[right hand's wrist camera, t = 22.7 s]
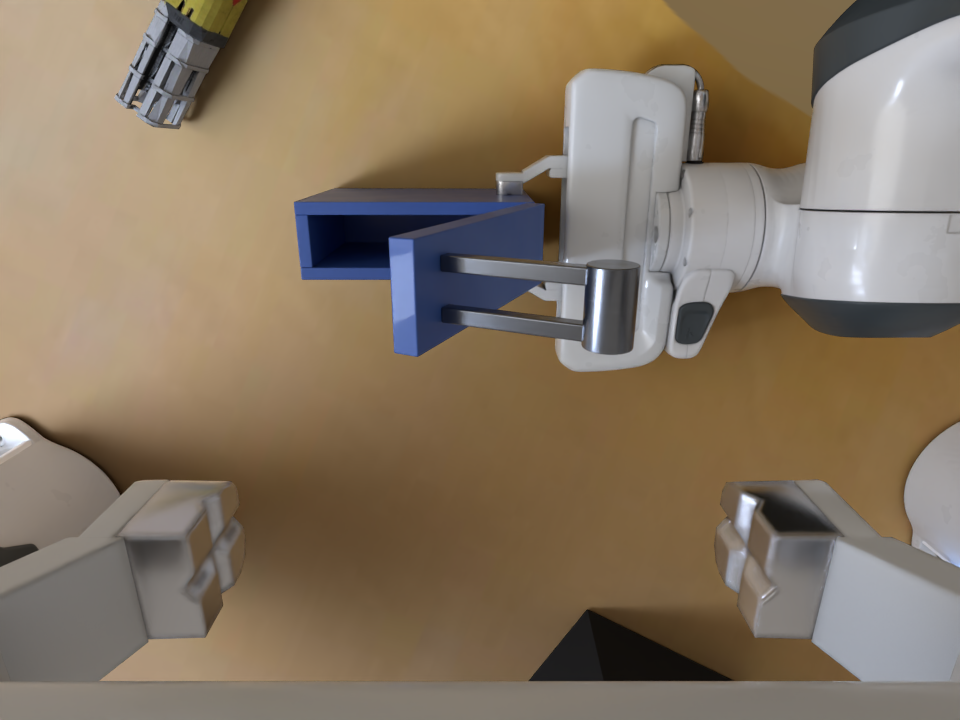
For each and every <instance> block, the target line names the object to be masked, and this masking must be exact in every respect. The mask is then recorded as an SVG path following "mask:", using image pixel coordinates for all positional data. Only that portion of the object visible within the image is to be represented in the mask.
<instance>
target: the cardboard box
mask: <svg viewBox="0 0 960 720" xmlns="http://www.w3.org/2000/svg"><path fill="white" fill-rule="evenodd" d="M529 681H733V680H731V679H729V678H727V677H724V676H722V675H720V674H718V673H716V672H714V671H712V670H710V669H708V668H706V667H704V666H702V665H700V664H698V663H696V662H694V661H692V660H690V659H688V658H686V657H684V656H682V655H679V654H677V653H675V652H673V651H671V650H669V649H667V648H665V647H663V646H661V645H659V644H657V643H655V642H653V641H651V640H649V639H647V638H645V637H643V636H641V635H639V634H637V633H634V632H632V631H630V630H628V629H626V628H624V627H622V626H620V625H618V624H616V623H614V622H612V621H610V620H608V619H606V618H604V617H602V616H600V615H598V614H596V613H594V612H592V611H589V610H586V612H585V613H584V614H583V615H582V616H581V618H580V619H579V620H578V621H577V623H576V624H575V625H574V626H573V627H572V629H571V630H570V631H569V632H568V634H567V635H566V636H565V637H564V638H563V640H562V641H561V642H560V643H559V645H558V646H557V647H556V648H555V649H554V651H553V652H552V653H551V654H550V656H549V657H548V658H547V659H546V660H545V662H544V663H543V664H542V665H541V667H540V668H539V669H538V670H537V671H536V673H535V674H534V675H533V676H532V678H531V679H530V680H529Z"/></svg>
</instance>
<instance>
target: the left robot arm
mask: <svg viewBox="0 0 960 720" xmlns="http://www.w3.org/2000/svg"><path fill="white" fill-rule="evenodd" d="M695 81H696V84H697V90H694V84H695ZM811 104H812V108H813V112H812V120H811V127H810V135H809V142H808V150H807V157H806V163H802V164H798V165H795V166H791V167H787V168H778V169H774V168H768V167H765V166H762V165H759V164H755V163H704V162H702V158H703V149H704V141H705V133H704V132H705V129H704V128H705V118H706V112H707V111H708V106H709V91H708V90H704V84H703V80H702V77H701V76H700V74H699V73H698V71H697V70H695V69H694V68H693V67H691V66H689V65H685V64H661V65H657V66H654V67H652V68H651V69H649V70H648V71H647V72H646V73H645V74H642V73H636V72H630V71H622V70H612V69H584V70H581V71H580V72H578V73H577V74H576V75H575V76H574V77H573V78H572V79H571V80H570V81H569V82H568V83H567V85H566V90H565V113H564V137H563V155H546V156H544V157H543V158H541V159H539V160H538V161H536V162H534V163H533V164H531V165H529V166H528V167H526V168H524V169H523V170H522V172H496V195H508V194H509V193H510V194H511V195H523V183H525V182H527V181H529V180H530V179H532V178H534V177H536V176H537V175H539V174H541V173H542V172H544V171H546V175H547V176H549V177H550V178H562V186H561V211H560V235H559V260H558V262H564V263H576V264H587V263H588V262H590V261H593V260H603V259H614V260H626V261H631V262H635V263H638V264H640V266H641V271H640V281H639V292H638V303H637V314H636V324H635V335H634V346H633V350H632V351H630V352H628V353H625V354H619V355H604V354H597V353H593V352H590V351H587V350H585V349H584V348H583V347H582V345H581V342H579V341H572V340H564V339H557V338H555V350H556V353H557V356H558V359H559V361H560V362H561V363H562V364H563V365H564V366H566V367H567V368H569V369H570V370H572V371H577V372H594V371H610V370H619V369H627V368H634V367H639V366H642V365H645V364H648V363H650V362H652V361H653V360H655V359H656V358H657V357H658V356H659V355H660V354H661V353H662V351H663V350H665V351H666V352H667V353H668V354H670V355H671V356H673V357H675V358H681V359H687V358H692V357H694V356H696V355H697V354H698V353H699V351H700V349H701V348H702V346H703V343H704V341H705V339H706V337H707V335H708V333H709V330H710V328H711V326H712V324H713V322H714V320H715V318H716V316H717V314H718V312H719V310H720V308H721V306H722V304H723V302H724V300H725V299H726V297H727V295H728V293H729V292H741V291H745V290H749V289H752V288H757V287H766V286H767V287H776V288H780V289H781V292H782V294H781V296H782V297H783V299H784V300H785V301H786V303H787V304H788V305H789V306H790V307H791V308H792V309H793V310H794V311H795V312H796V313H797V314H798V315H799V316H800V317H802V318H803V319H804V320H805V321H806V322H807V323H808V324H809V325H810V326H811V327H812V328H813V329H815V330H817V331H819V332H822V333H825V334H829V335H833V336H840V337H860V338H895V337H932V336H934V335H937V334H939V333H941V332H944V331H946V330H948V329H950V328H952V327H954V326H956V325H958V324H960V0H857V1H855V2H854V3H853V4H852V5H851V6H850V7H849V8H848V9H847V10H846V11H845V12H844V13H843V14H842V15H841V16H840V17H839V18H838V19H837V20H836V21H835V23H834V24H833V25H832V26H831V27H830V28H829V29H828V30H827V32H826V33H825V34H824V35H823V37H822V38H821V39H820V40H819V42H818V43H817V44H816V46H815V48H814V59H813V78H812V98H811ZM682 161H687V162H685V163H682ZM529 292H530V293H532V294H534V295H535V296H537V297H539V298H541V299H542V300H544V301H557V309H556V317H559V318H567V319H576V320H583V309H584V293H585V286H581V285H571V284H561V283H551V282H543V283H540V284H539V285H537V286H535V287H534V288H532V289H530V290H529ZM904 505H905V510H906V513H907V516H908V518H909V521H910V523H911V526H912V529H913V536H912V544H911V546H913V547H915V548H917V549H920V550H922V551H924V552H926V553H929V554H931V555H933V556H935V557H938V558H940V559H942V560H944V561H947V562H949V563H951V564H954V565H956V566H958V567H960V422H958V423H956V424H954V425H952V426H951V427H949V428H948V429H946V430H945V431H943V432H942V433H941V434H939V435H938V436H937V437H936V438H935V439H934V440H933V441H932V442H930V443H929V445H928V446H927V447H926V448H925V449H924V450H923V451H922V453H921V454H920V455H919V456H918V458H917V459H916V461H915V463H914V464H913V466H912V468H911V470H910V472H909V475H908V478H907V481H906V485H905V490H904Z"/></svg>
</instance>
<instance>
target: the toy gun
mask: <svg viewBox="0 0 960 720" xmlns="http://www.w3.org/2000/svg"><path fill="white" fill-rule="evenodd" d="M247 1H248V0H161V1H160V3H159V6H158V8H156V9H155V11H154V12H155V15H154V17H153V19H152V21H151V23H150V25H149V27H148V29H147V31H146V33H144V35H143V41H142V43H141V45H140V47H139V49H138V51H137V53H136V56H135V58H134V60H133V62H132V64H131V65H130V66H129V70H130V71H129V73H128V75H127V77H126V79H125V81H124V83H123V85H122V87H121V89H120V91H119V93H117V94H116V96H115V99H116V100H117V101H118V102H119V103H120V104H121V105H122V106H124V107H125V108H128V109H134V110H135V111H137V112H138V114H137V115H136V116H137V117H139V118H140V119H141V120H143V121H144V122H146V123H147V124H149V125H151V126H153V127H158V128H171V129H179V128H180V127H181V121H182V120H183V118H184V116H185V114H186V112H187V110H188V108H189V106H190V104H191V102H194V99H195V98H194V96H195V94H196V92H197V90H198V88H199V86H200V84H201V82H202V81H203V79H204V77H205V75H206V73H208V72H209V67H210V65H211V63H212V62H213V60H214V58H215V56H216V55H217V53H218V51H219V49H220V48H224V47H225V45H226V43H227V41H228V38H229V36H230V34H231V32H232V30H233V29H234V27H235V25H236V23H237V21H238V19H239V17H240V15H241V13H242V11H243V9H244V7H245V5H246V3H247ZM138 89H141V91H140V93H139V95H138V96H135V95H136V93H137V91H138ZM132 101H139V102H141V103H143V104H142V106H141V108H140V109H139V108H138V107H137V106H136V105H132V104H131V103H132ZM155 102H156V104H155ZM173 103H174V104H173ZM172 105H173V106H172ZM152 107H154V108H153V110H152V112H151V113H150V111H151V109H152ZM171 107H172V108H171ZM170 109H171V110H170ZM169 111H170V112H169ZM149 113H150V115H149ZM168 113H169V114H168ZM165 119H167V120H169V121H170V122H171V123H173V124H163V122H164V120H165Z"/></svg>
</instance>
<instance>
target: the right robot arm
mask: <svg viewBox="0 0 960 720" xmlns="http://www.w3.org/2000/svg"><path fill="white" fill-rule="evenodd" d="M0 435H1V437H0V720H960V567H958V566H956V565H954V564H951V563H949V562H947V561H944V560H942V559H940V558H938V557H935V556H933V555H931V554H929V553H926V552H924V551H922V550H920V549H917V548H915V547H913V546H911V545H908V544H906V543H904V542H902V541H899V540H897V539H895V538H892V537H881V536H880V535H879V534H878V533H877V532H876V531H875V530H874V529H873V528H872V527H871V526H870V525H869V524H868V523H867V522H866V521H865V520H864V519H863V518H862V517H861V516H860V515H859V514H858V513H857V512H856V511H855V510H854V509H853V508H852V507H851V506H850V505H848V504H847V503H846V502H845V501H844V500H843V499H842V498H841V497H840V496H839V495H838V494H837V493H836V492H835V491H834V490H833V489H832V488H831V487H830V486H829V485H828V484H827V483H826V482H823V481H821V480H818V479H815V480H790V481H750V482H726V484H725V486H724V489H723V491H722V496H721V501H720V505H721V507H722V508H723V510H724V511H725V513H726V515H727V517H726V518H725V519H724V520H723V521H722V522H721V523H720V524H719V525H718V526H717V527H716V534H715V542H714V548H715V558H716V564H717V567H718V570H719V573H720V575H721V577H722V579H723V581H724V583H725V585H726V586H728V587H729V588H731V589H732V590H734V591H735V592H737V593H738V594H739V595H738V601H737V607H738V608H739V610H740V612H741V614H742V616H743V617H744V619H745V621H746V623H747V624H748V626H749V628H750V630H751V632H752V633H753V635H754V637H755V638H789V639H812V641H811V642H813V643H814V644H815V645H816V646H818V647H819V648H820V649H821V650H823V651H824V652H825V653H827V654H828V655H829V656H830V657H832V658H833V659H834V660H835V661H837V662H838V663H839V664H841V665H842V666H843V667H844V668H846V669H847V670H848V671H849V672H851V673H852V674H853V675H855V676H856V677H857V678H858V679H860V680H861V681H99V680H100V679H102V678H103V677H104V676H106V675H107V674H108V673H109V672H111V671H112V670H113V669H115V668H116V667H117V666H118V665H120V664H121V663H122V662H123V661H125V660H126V659H127V658H129V657H130V656H131V655H132V654H134V653H135V652H136V651H138V650H139V649H140V648H141V647H143V646H144V645H145V644H146V643H148V639H170V638H205V637H206V635H207V633H208V632H209V630H210V628H211V626H212V625H213V623H214V621H215V619H216V617H217V616H218V614H219V612H220V610H221V608H222V607H223V601H222V595H221V594H222V593H223V592H225V591H226V590H228V589H229V588H231V587H232V586H234V585H235V583H236V581H237V579H238V577H239V575H240V573H241V570H242V566H243V562H244V558H245V542H246V540H245V533H244V527H243V526H242V525H241V524H240V523H239V522H238V521H237V520H236V519H235V518H234V517H233V515H234V513H235V511H236V510H237V508H238V507H239V505H240V502H239V497H238V492H237V487H236V486H235V485H234V484H233V483H232V482H231V481H193V480H172V481H171V480H141V481H136V482H134V483H133V484H132V485H131V486H130V487H129V488H128V489H127V490H126V491H125V492H124V493H123V494H122V495H121V496H120V494H119V492H118V490H117V488H116V487H115V485H114V484H113V483H112V481H111V480H110V479H109V478H108V477H107V475H106V474H105V473H104V472H103V471H102V470H101V469H100V468H98V467H97V466H96V465H95V464H94V463H92V462H91V461H90V460H88V459H87V458H85V457H84V456H82V455H80V454H78V453H77V452H75V451H73V450H70V449H68V448H66V447H63V446H61V445H58V444H56V443H53V442H51V441H49V440H47V439H45V438H44V437H42V436H41V435H40V434H39V433H38V432H36V431H35V430H34V429H33V428H32V427H30V426H29V425H28V424H26V423H25V422H23V421H21V420H20V419H17V418H13V417H8V418H4V419H1V420H0Z"/></svg>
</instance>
